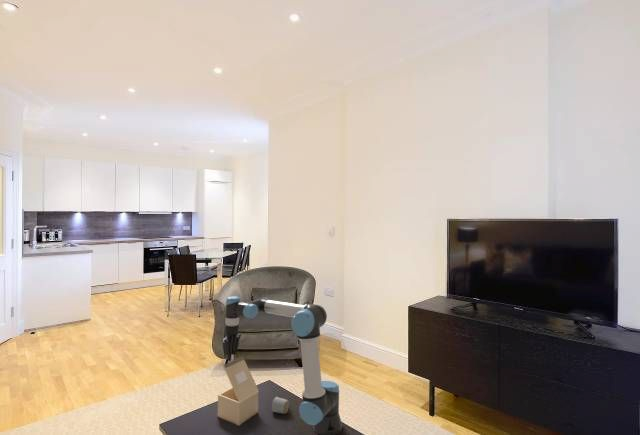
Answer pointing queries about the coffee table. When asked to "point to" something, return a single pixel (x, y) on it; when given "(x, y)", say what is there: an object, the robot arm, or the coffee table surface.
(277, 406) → the ceramic mug
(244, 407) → the carton
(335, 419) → the robot arm
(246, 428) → the coffee table surface
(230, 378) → the carton lid
